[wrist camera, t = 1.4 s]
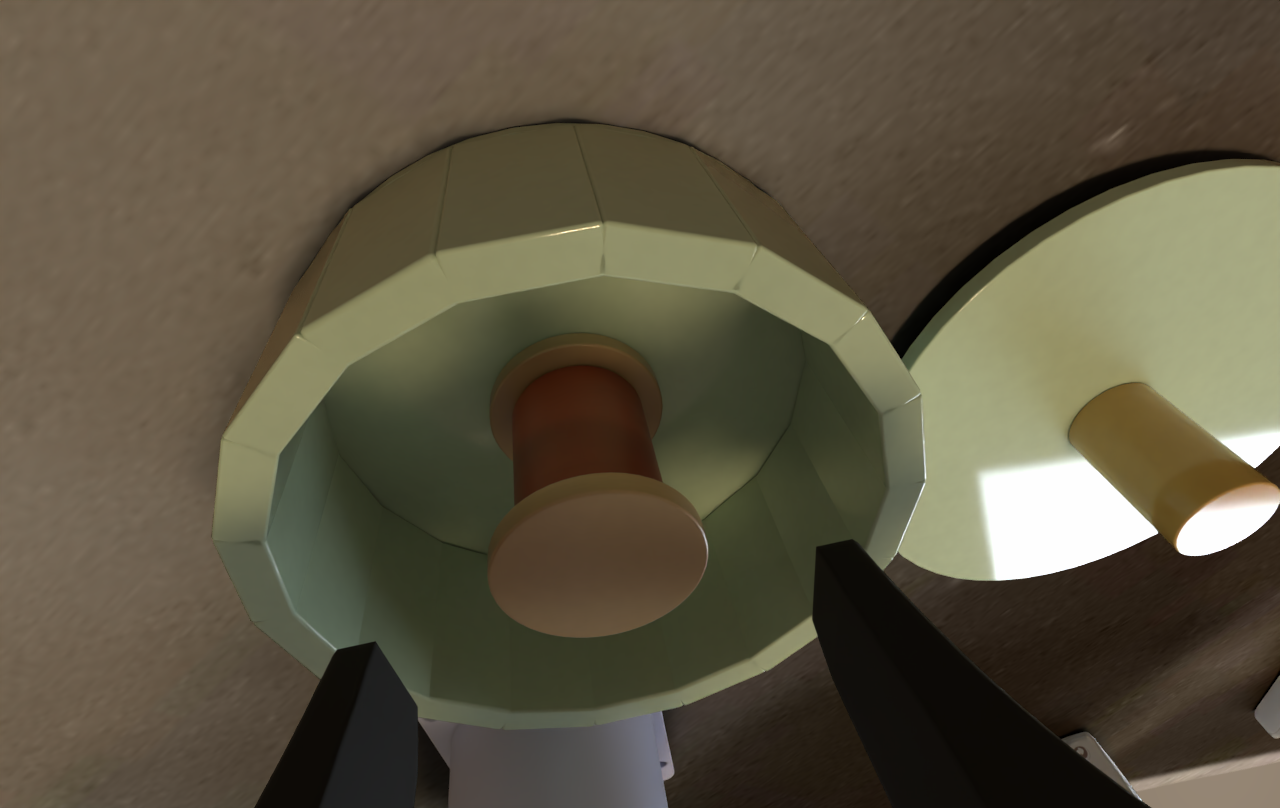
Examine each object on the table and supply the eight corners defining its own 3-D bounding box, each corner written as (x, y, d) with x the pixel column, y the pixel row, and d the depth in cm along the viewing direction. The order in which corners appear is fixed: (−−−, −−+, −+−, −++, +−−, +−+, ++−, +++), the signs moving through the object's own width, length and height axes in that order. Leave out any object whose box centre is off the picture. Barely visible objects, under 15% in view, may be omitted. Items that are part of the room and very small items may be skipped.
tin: (820, 516, 21) (892, 660, 17) (399, 605, 20) (376, 777, 16) (846, 67, 13) (991, 148, 9) (160, 190, 12) (10, 332, 9)
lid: (1215, 508, 24) (1350, 629, 20) (838, 590, 23) (905, 730, 20) (1451, 99, 16) (1760, 174, 12) (874, 210, 15) (1003, 326, 11)
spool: (667, 449, 18) (715, 613, 14) (512, 481, 17) (517, 657, 14) (649, 316, 15) (701, 470, 11) (468, 351, 15) (458, 521, 11)
